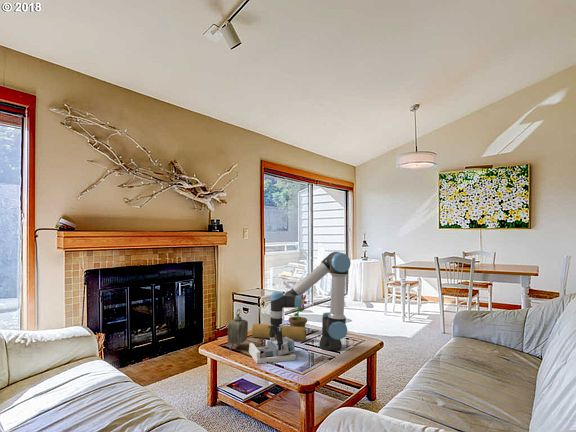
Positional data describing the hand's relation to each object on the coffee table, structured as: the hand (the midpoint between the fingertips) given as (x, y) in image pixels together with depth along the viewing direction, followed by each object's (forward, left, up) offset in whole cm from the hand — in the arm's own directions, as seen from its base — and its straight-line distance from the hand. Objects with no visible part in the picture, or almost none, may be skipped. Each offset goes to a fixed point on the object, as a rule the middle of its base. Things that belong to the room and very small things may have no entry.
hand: (275, 351), depth 220 cm
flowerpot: (-32, -42, -2) cm, 52 cm away
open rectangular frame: (+3, 0, -2) cm, 3 cm away
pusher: (+4, 0, -2) cm, 5 cm away
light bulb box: (0, -1, +2) cm, 2 cm away
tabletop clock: (+20, -20, -2) cm, 28 cm away
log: (-13, -32, -3) cm, 34 cm away
